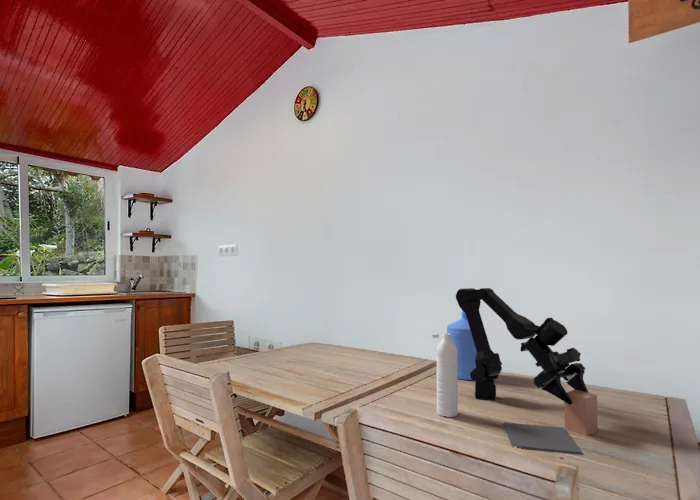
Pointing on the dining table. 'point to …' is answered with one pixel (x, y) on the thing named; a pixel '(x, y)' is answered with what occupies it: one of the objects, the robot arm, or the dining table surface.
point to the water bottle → (447, 376)
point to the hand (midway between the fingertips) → (580, 401)
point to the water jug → (463, 347)
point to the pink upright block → (581, 412)
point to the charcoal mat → (540, 438)
